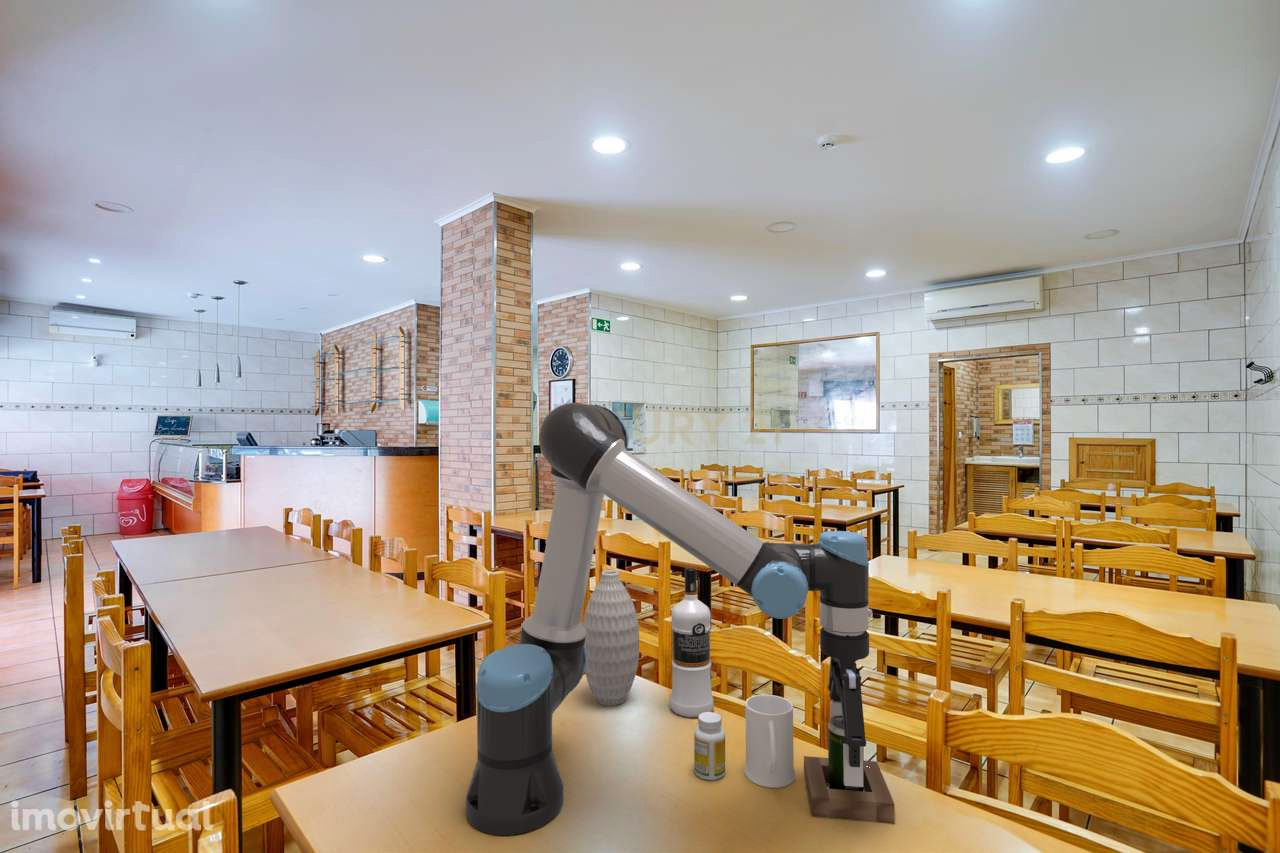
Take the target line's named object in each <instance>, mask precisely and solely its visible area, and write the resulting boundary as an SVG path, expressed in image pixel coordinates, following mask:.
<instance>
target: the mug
mask: <svg viewBox="0 0 1280 853" xmlns="http://www.w3.org/2000/svg"><path fill="white" fill-rule="evenodd" d="M744 705H745V707H744V708H745V710H744V711H745V713H744V714H745V765H744V774H745V776H746V778H747V780H749V781H751V782H752V783H754V784H756V785H758V786H759V787H760V786H761V787H764V788H771V789H779V788H784V787H787V786H789V785H792V783H794V781H795V780H796V779H795V778H796V772H795V766H794V763H795V762H794V760H795V759H794V758H795V756H794V705H793V703H792V702H791V701H790V700H788V699H786V698H785V697H782V696H779V695H772V694H758V695H753V696H750V697H748V698H747V699H746V700H745V704H744Z"/></svg>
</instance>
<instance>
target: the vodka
mask: <svg viewBox="0 0 1280 853" xmlns="http://www.w3.org/2000/svg"><path fill="white" fill-rule="evenodd" d="M697 574H698V573H697V568H695V567H686V568H684V599H681V601H680V602H678V603H677V604H675V605H674V606H673V608H672V611H671V613H670V615H671V629H672V660H671V666H672V685H671V694H670V696H669V706H670V708H671V710H672V711H673V712H674V713H675V714H677V715H678V714H679V716H682V717H685V718H691V717H695V718H698V716H699V715H700V714H701V713H704V712H713V708H714V702H715V701H714V696H713V693H712V692H713V691H712V685H711V684H712V683H711V668H712V667H711V666H712V661H711V629H712V628H711V627H712V625H711V616H712V613H711V610H710V607H708V605H707V604H705V603H703V602H702V601H701V600H699V599H698V594H697V593H698V591H697V589H698V588H697V586H698V585H697V584H698V583H697V581H698V580H697Z"/></svg>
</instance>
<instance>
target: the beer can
mask: <svg viewBox="0 0 1280 853" xmlns="http://www.w3.org/2000/svg"><path fill="white" fill-rule="evenodd" d="M827 736H828V737H827V745H828V746H827V751H828V755H827V756H828V757H827V758H828V771H829V784H828V789H839V790H851V791H863V792H865V788H864V763H863V787H856V786H845V785H844V765H843V744H841V743H840V739H841V738H844V737H845V734H844V725H843V716H842V715H840V716H833V717H831V718H829V723H828V725H827Z"/></svg>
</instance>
